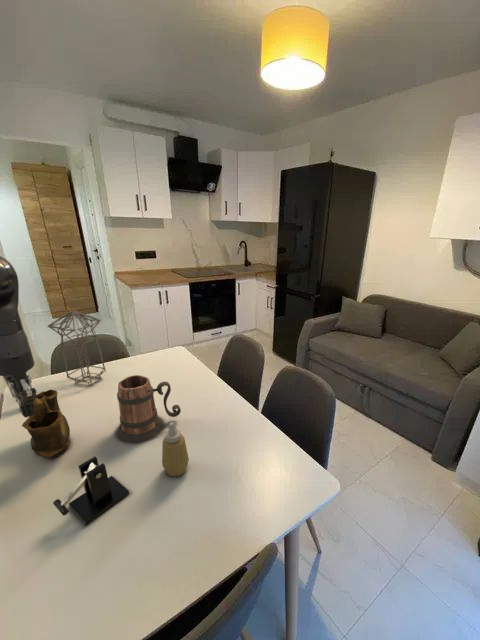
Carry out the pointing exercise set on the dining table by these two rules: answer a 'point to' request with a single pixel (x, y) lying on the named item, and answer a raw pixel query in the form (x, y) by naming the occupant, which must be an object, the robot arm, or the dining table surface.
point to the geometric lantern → (82, 316)
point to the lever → (73, 492)
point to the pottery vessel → (48, 426)
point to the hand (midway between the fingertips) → (28, 414)
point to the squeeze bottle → (174, 452)
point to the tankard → (140, 409)
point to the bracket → (97, 492)
